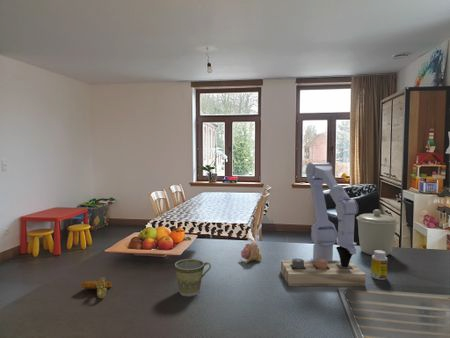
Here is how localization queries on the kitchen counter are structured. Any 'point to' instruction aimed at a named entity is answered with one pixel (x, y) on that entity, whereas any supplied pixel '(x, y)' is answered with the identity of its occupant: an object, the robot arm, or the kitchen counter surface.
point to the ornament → (98, 286)
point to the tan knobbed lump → (251, 252)
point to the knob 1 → (297, 264)
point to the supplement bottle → (379, 265)
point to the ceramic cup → (190, 276)
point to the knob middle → (321, 264)
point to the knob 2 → (344, 267)
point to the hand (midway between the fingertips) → (344, 266)
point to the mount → (322, 275)
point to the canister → (376, 232)
